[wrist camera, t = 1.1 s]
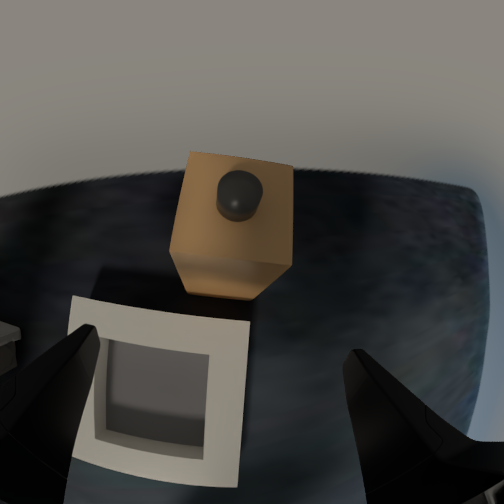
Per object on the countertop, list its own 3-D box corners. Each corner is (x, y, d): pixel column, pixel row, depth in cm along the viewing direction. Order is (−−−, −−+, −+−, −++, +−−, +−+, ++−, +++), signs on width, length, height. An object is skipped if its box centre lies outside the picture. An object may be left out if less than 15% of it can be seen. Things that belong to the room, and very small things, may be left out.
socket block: (233, 470, 17) (237, 487, 14) (83, 444, 15) (69, 455, 12) (244, 323, 21) (250, 321, 18) (88, 301, 19) (72, 295, 16)
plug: (250, 300, 22) (301, 257, 10) (187, 294, 21) (165, 240, 10) (255, 236, 23) (300, 143, 12) (196, 229, 23) (191, 127, 11)
